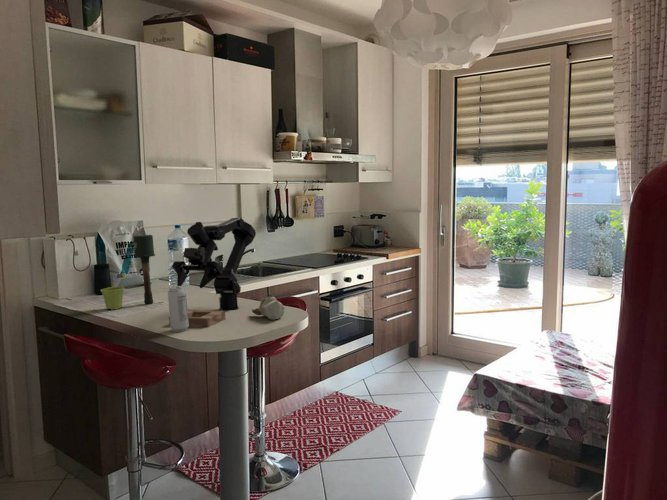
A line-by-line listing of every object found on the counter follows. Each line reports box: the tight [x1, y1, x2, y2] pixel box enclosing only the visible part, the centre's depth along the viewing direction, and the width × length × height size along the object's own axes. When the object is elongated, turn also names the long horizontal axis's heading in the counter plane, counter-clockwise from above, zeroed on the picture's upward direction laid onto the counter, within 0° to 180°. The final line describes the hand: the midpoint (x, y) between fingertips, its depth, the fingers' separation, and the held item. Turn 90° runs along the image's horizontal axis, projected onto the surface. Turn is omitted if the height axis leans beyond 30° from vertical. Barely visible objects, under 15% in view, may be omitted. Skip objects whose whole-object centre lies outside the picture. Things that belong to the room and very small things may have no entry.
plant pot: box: [99, 286, 125, 310], centre depth 227 cm, size 9×9×9 cm
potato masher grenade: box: [133, 234, 156, 305], centre depth 232 cm, size 8×9×30 cm
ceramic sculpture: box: [251, 294, 285, 321], centre depth 198 cm, size 11×9×15 cm
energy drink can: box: [167, 285, 190, 333], centre depth 184 cm, size 6×6×15 cm
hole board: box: [168, 309, 226, 328], centre depth 195 cm, size 12×16×3 cm
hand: (189, 287), depth 190 cm, fingers open, 9 cm apart
